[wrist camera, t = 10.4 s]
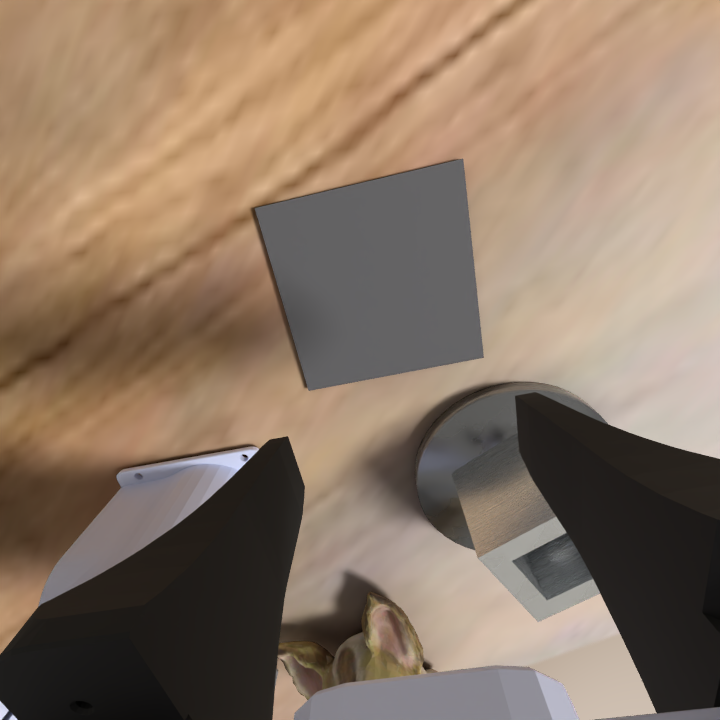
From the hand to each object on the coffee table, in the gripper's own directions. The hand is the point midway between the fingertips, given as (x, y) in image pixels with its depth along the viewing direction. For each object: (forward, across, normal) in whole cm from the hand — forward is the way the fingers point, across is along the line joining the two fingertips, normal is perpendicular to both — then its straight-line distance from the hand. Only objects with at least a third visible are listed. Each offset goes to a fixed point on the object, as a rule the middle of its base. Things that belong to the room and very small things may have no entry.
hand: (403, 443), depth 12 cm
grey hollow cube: (+9, -6, +10) cm, 14 cm away
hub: (+10, -6, +10) cm, 15 cm away
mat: (+10, 0, -3) cm, 10 cm away
